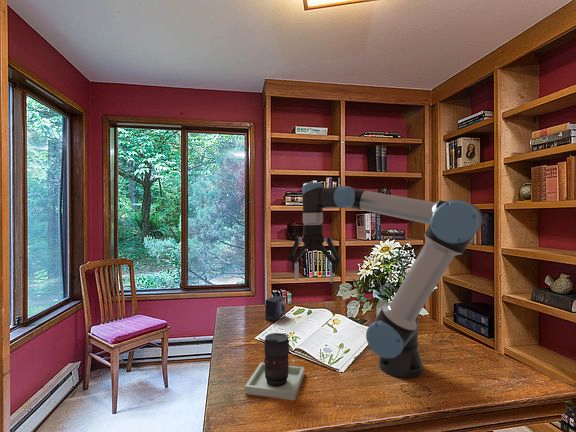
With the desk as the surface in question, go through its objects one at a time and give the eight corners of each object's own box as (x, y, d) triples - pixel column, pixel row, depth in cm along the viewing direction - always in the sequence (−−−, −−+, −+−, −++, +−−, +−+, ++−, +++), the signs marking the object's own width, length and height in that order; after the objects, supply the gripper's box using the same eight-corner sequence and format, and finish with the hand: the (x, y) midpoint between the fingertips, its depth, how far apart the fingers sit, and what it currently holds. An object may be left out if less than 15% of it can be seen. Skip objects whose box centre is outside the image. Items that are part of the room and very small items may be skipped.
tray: (304, 374, 114) (304, 367, 114) (294, 400, 98) (294, 392, 98) (260, 369, 118) (260, 362, 118) (244, 393, 102) (244, 386, 102)
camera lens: (286, 389, 103) (286, 342, 103) (261, 387, 105) (261, 341, 104) (291, 376, 111) (291, 333, 111) (268, 374, 113) (267, 331, 112)
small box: (275, 322, 166) (275, 301, 166) (264, 319, 170) (264, 299, 169) (286, 316, 175) (285, 296, 175) (275, 314, 179) (275, 295, 178)
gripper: (348, 223, 121) (349, 280, 122) (285, 223, 130) (286, 276, 130) (344, 224, 114) (345, 284, 115) (278, 224, 123) (279, 280, 123)
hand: (314, 280), depth 122 cm, fingers open, 13 cm apart
